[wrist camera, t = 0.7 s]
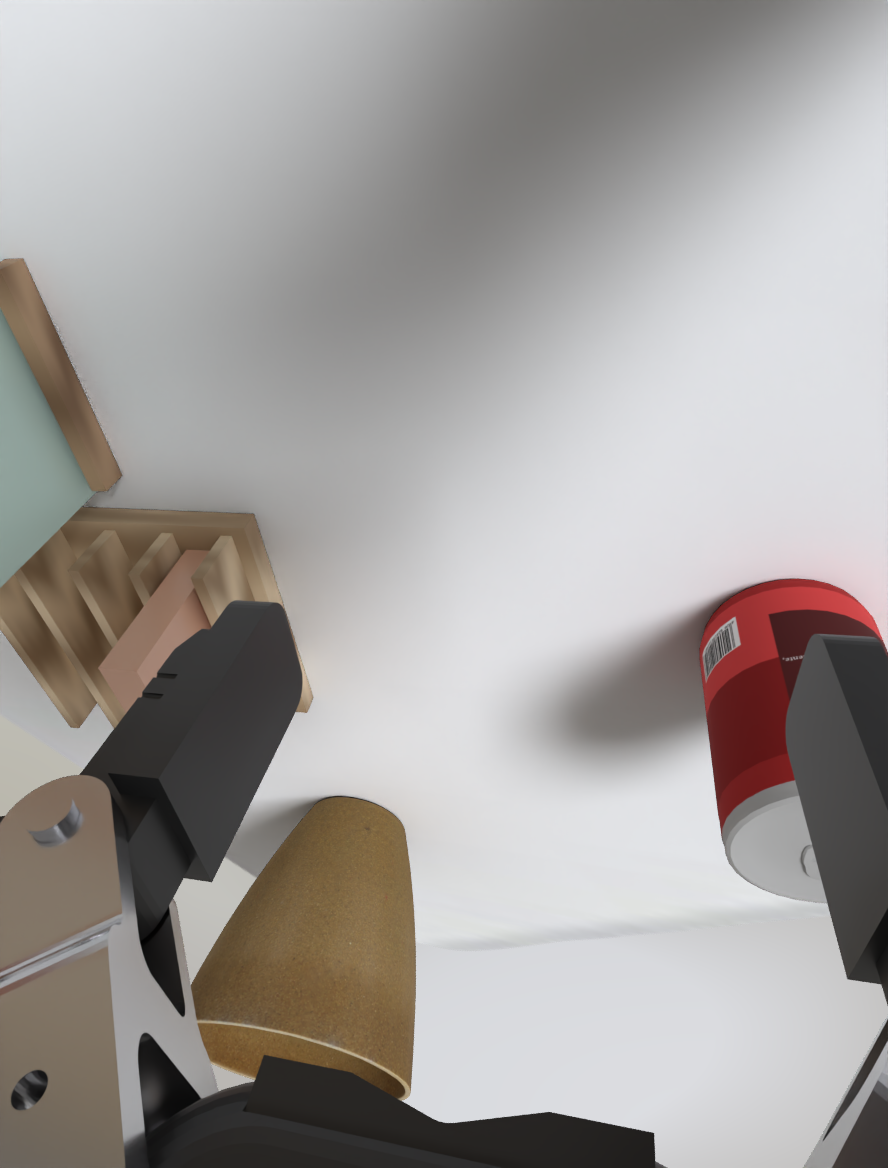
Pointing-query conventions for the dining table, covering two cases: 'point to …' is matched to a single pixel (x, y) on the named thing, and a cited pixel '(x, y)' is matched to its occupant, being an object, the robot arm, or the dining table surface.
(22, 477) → the green plate
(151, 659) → the pink rectangular slab
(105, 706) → the rack
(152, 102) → the dining table surface
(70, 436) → the stand rails
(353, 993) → the plant pot
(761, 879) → the canned food
